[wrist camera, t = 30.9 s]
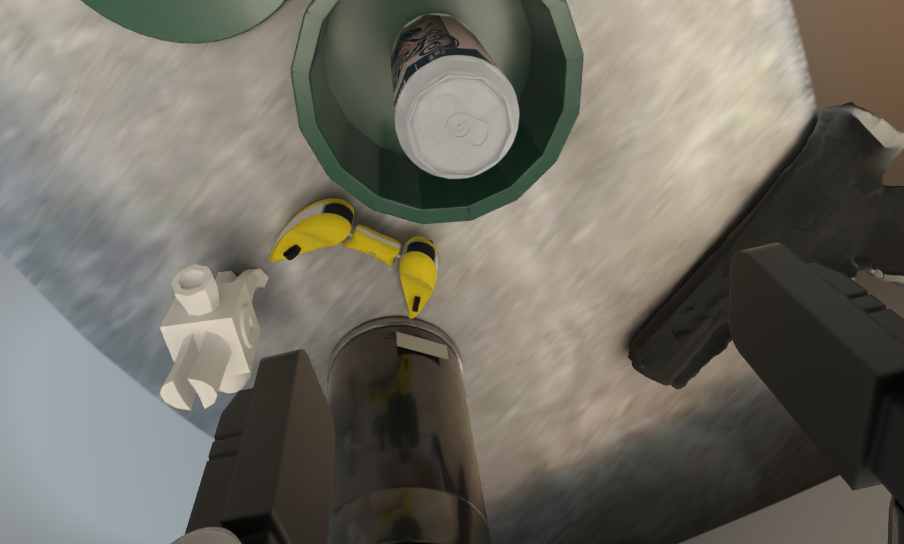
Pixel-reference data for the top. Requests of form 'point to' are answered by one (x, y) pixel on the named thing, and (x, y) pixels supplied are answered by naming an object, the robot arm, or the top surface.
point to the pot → (372, 107)
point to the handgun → (791, 237)
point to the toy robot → (210, 334)
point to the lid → (186, 17)
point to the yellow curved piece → (361, 246)
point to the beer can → (450, 99)
